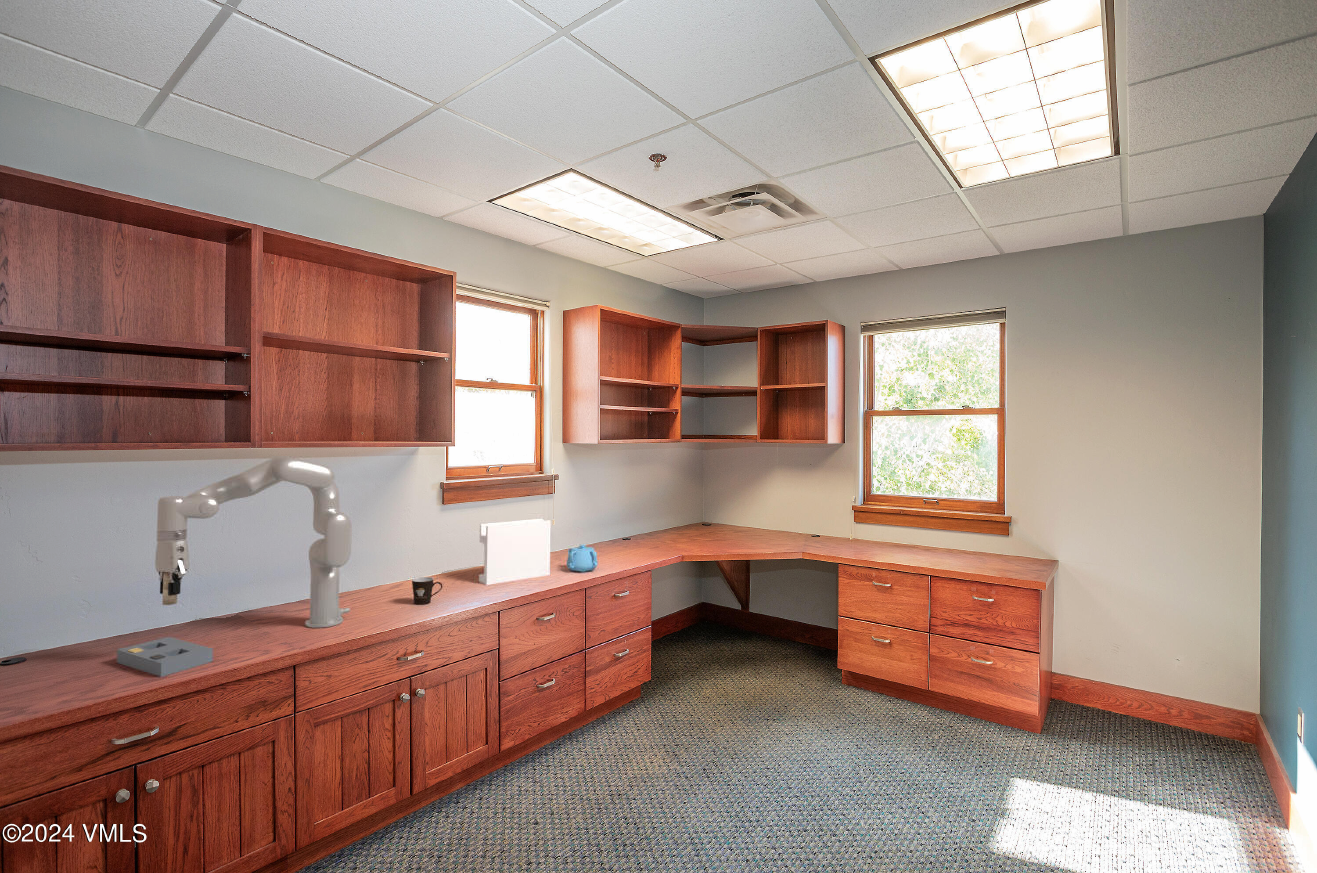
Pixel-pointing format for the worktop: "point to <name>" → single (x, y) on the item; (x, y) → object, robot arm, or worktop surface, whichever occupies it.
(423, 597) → the coffee mug
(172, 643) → the socket block
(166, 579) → the plug
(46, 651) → the worktop surface
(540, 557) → the block
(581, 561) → the decorative pot
